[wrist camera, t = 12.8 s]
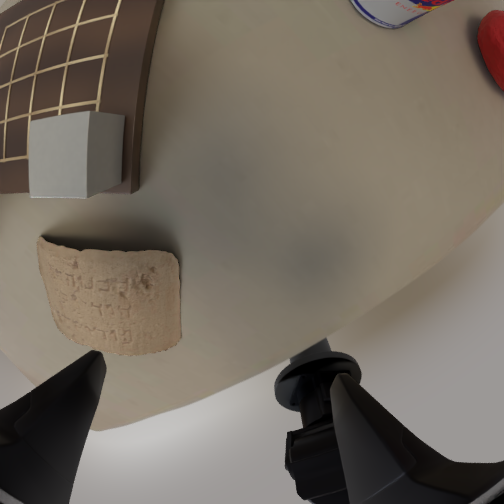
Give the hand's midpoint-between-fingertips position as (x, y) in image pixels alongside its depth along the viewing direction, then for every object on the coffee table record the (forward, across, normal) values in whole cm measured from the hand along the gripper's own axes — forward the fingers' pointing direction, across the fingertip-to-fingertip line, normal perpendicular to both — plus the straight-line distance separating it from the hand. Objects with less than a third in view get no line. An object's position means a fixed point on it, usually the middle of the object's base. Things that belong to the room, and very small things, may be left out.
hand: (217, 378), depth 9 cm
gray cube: (+10, +10, -7) cm, 16 cm away
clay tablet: (+12, +11, +5) cm, 17 cm away
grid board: (+12, +17, -14) cm, 25 cm away
